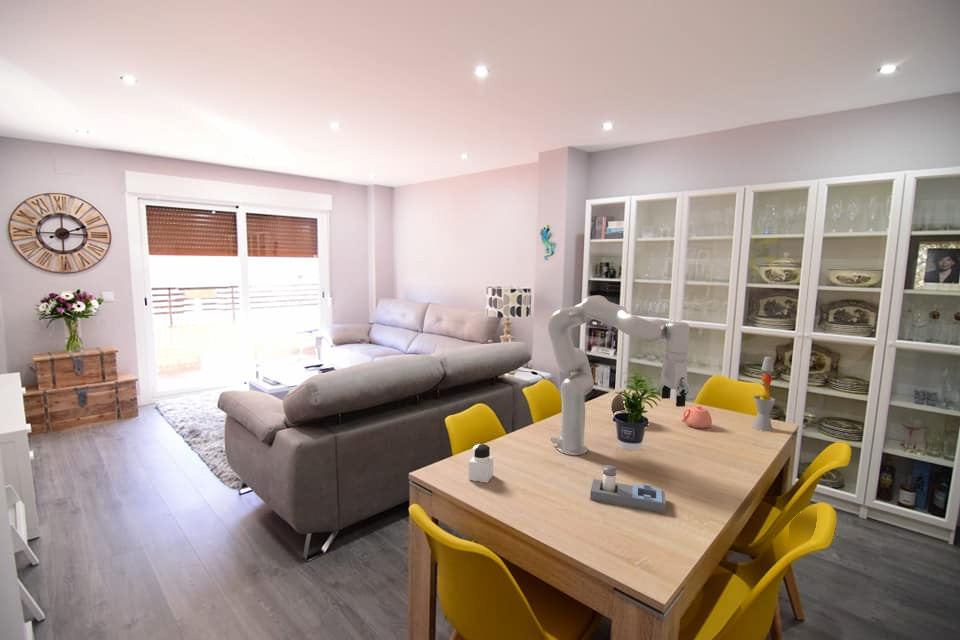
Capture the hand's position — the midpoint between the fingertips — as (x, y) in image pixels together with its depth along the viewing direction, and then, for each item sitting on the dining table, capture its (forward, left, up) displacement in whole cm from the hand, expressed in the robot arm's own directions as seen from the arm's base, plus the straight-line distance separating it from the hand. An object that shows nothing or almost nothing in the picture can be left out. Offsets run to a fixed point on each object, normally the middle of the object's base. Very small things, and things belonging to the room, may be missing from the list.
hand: (672, 402), depth 166 cm
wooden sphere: (-17, +55, -28) cm, 64 cm away
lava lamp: (+45, +70, -28) cm, 88 cm away
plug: (-20, -25, -28) cm, 42 cm away
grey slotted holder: (-14, -25, -28) cm, 40 cm away
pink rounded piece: (+15, +62, -28) cm, 70 cm away
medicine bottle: (-64, -28, -28) cm, 75 cm away
